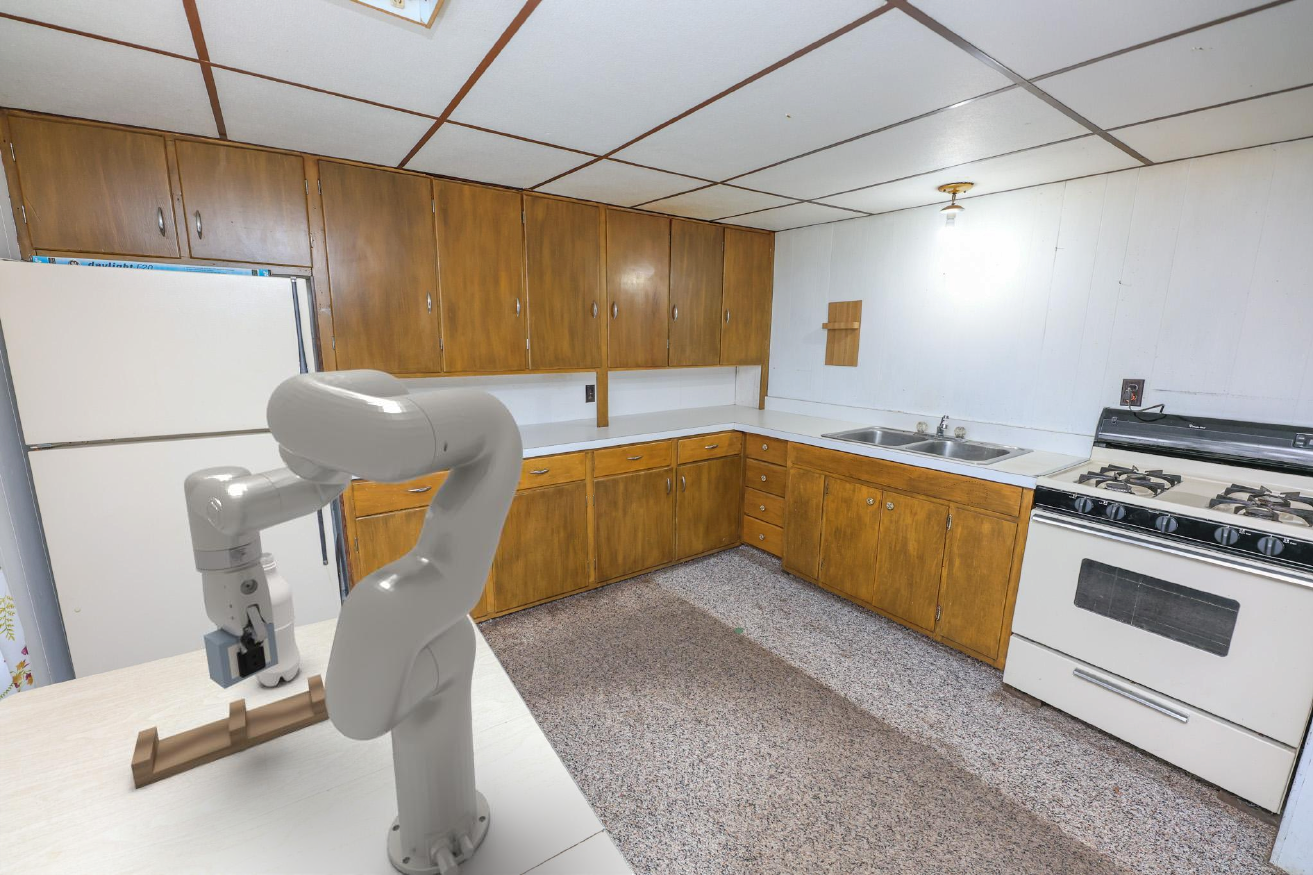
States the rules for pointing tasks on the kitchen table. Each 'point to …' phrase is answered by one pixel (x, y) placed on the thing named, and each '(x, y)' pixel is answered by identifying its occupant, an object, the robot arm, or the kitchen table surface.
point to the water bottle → (280, 626)
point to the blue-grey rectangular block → (234, 655)
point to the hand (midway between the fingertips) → (244, 665)
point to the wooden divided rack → (225, 734)
